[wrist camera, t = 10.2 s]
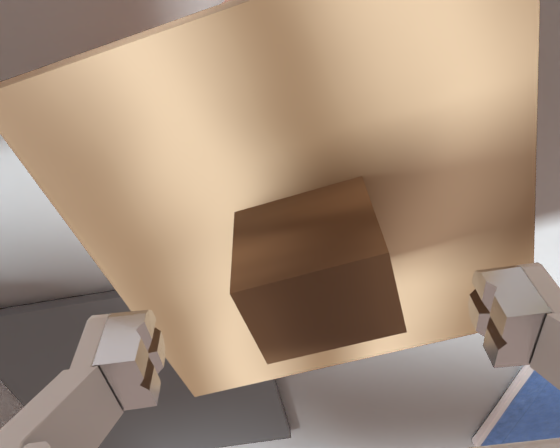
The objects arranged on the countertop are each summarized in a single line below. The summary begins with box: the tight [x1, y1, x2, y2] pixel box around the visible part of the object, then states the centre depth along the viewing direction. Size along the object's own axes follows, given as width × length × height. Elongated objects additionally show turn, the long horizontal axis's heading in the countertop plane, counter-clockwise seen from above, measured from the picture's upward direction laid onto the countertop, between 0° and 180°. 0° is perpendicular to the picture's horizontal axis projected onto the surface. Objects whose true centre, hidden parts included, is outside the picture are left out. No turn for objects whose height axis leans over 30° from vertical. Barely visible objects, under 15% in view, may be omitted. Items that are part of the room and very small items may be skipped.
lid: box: [0, 0, 540, 397], centre depth 14 cm, size 14×14×4 cm
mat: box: [0, 290, 291, 448], centre depth 30 cm, size 16×16×1 cm
